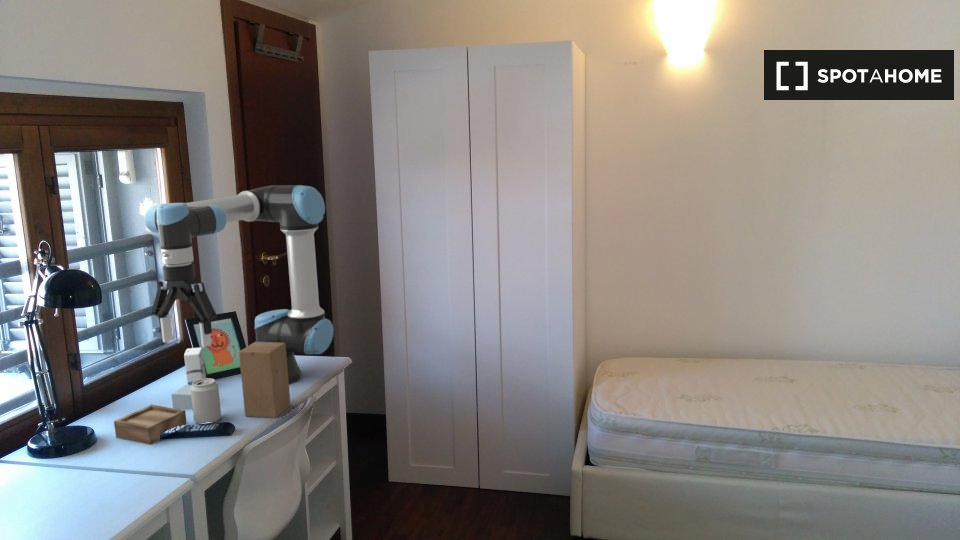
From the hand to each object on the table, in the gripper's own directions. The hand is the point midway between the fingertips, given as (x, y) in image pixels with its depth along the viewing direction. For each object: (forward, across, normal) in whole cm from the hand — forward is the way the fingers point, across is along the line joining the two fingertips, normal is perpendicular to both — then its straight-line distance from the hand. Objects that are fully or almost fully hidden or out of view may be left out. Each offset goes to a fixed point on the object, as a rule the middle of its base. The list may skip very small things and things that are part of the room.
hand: (187, 343), depth 196 cm
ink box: (+28, -35, +35) cm, 57 cm away
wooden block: (+28, +3, +25) cm, 38 cm away
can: (+28, -9, +13) cm, 32 cm away
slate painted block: (+28, -23, +21) cm, 42 cm away
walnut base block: (+28, -18, +1) cm, 33 cm away
